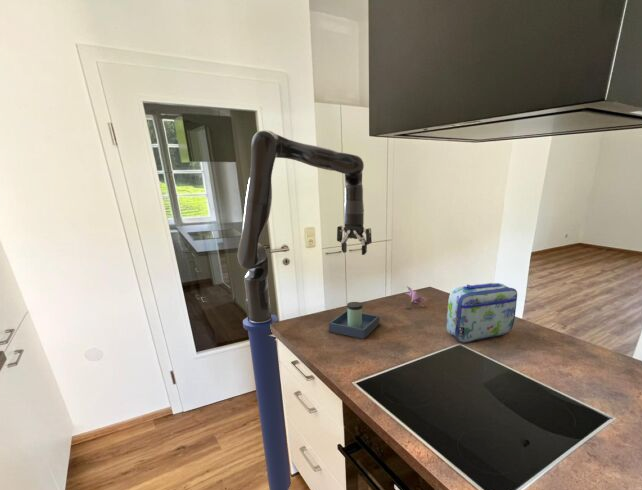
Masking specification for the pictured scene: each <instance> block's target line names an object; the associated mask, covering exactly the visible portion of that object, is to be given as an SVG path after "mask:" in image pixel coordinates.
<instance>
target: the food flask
mask: <svg viewBox="0 0 642 490" xmlns="http://www.w3.org/2000/svg"><path fill="white" fill-rule="evenodd" d="M346 307H347V308H346V310H347V311H348V326H350V327H355V328H361V327H362V313H363V303H362V302H361V301H350V302H348V303H347V304H346Z"/></svg>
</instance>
